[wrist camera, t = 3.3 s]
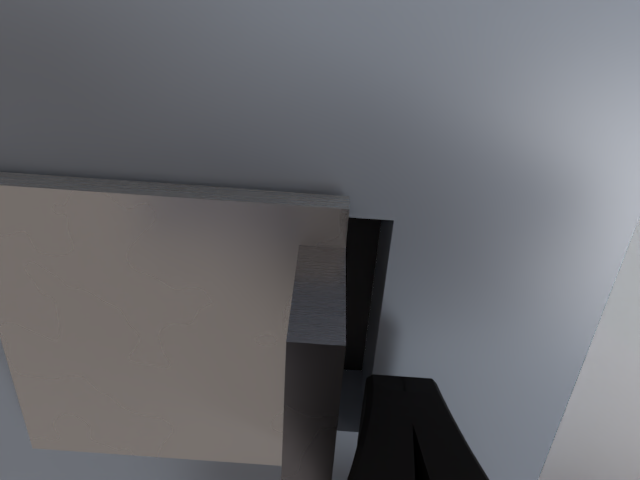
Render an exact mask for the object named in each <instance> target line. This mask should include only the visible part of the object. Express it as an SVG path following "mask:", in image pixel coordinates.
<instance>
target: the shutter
mask: <svg viewBox="0 0 640 480" xmlns="http://www.w3.org/2000/svg"><path fill="white" fill-rule="evenodd" d="M348 219H349V196H345V195H330V194H316V193H301V192H287V191H272V190H258V189H243V188H228V187H214V186H199V185H185V184H170V183H156V182H141V181H127V180H112V179H98V178H83V177H69V176H54V175H39V174H25V173H10V172H0V339H1V342H2V345H3V349H4V352H5V356H6V359H7V363H8V366H9V369H10V373H11V376H12V380H13V383H14V387H15V390H16V393H17V397H18V400H19V404H20V407H21V411H22V414H23V417H24V421H25V424H26V428H27V431H28V435H29V438H30V441H31V445H32V448H33V449H48V450H62V451H76V452H90V453H105V454H119V455H133V456H148V457H162V458H176V459H190V460H205V461H219V462H233V463H248V464H262V465H276V466H282V469H281V480H332V473H333V463H334V454H335V444H336V435H337V425H338V416H339V406H340V397H341V388H342V378H343V369H344V359H345V350H346V240H347V230H348Z"/></svg>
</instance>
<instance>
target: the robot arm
mask: <svg viewBox="0 0 640 480" xmlns="http://www.w3.org/2000/svg"><path fill="white" fill-rule="evenodd" d="M347 480H489V478H488V477H487V475H486V473H485V472H484V470H483V468H482V467H481V465H480V464H479V462H478V460H477V459H476V457H475V455H474V454H473V452H472V450H471V449H470V447H469V445H468V443H467V442H466V440H465V438H464V436H463V434H462V433H461V431H460V429H459V427H458V425H457V423H456V422H455V420H454V418H453V416H452V414H451V412H450V410H449V408H448V406H447V404H446V402H445V400H444V398H443V396H442V394H441V392H440V390H439V388H438V385H437V383H436V382H435V381H434V380H433V379H432V378H419V377H405V376H390V375H376V374H372V375H371V376H369V377H367V378H366V382H365V389H364V397H363V404H362V411H361V418H360V426H359V433H358V440H357V448H356V452H355V455H354V459H353V463H352V466H351V469H350V472H349V475H348V478H347Z"/></svg>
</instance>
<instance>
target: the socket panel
mask: <svg viewBox="0 0 640 480" xmlns="http://www.w3.org/2000/svg"><path fill="white" fill-rule="evenodd" d="M0 172H10V173H25V174H39V175H54V176H69V177H83V178H98V179H112V180H127V181H141V182H156V183H170V184H185V185H199V186H214V187H228V188H243V189H258V190H272V191H287V192H301V193H316V194H330V195H345V196H349V217H351V218H365V219H380V220H381V225H380V233H379V241H378V248H377V256H376V264H375V272H374V280H373V288H372V295H371V303H370V311H369V319H368V327H367V335H366V342H365V350H364V358H363V366H362V371H360V370H346V369H343V378H342V388H341V397H340V406H339V416H338V425H337V435H336V444H335V454H334V463H333V473H332V480H347V478H348V475H349V472H350V469H351V466H352V463H353V459H354V455H355V452H356V448H357V440H358V433H359V426H360V418H361V411H362V404H363V397H364V389H365V382H366V378H367V377H369V376H371V375H372V374H376V375H390V376H405V377H419V378H432V379H433V380H434V381H435V382H436V383H437V385H438V388H439V390H440V392H441V394H442V396H443V398H444V400H445V402H446V404H447V406H448V408H449V410H450V412H451V414H452V416H453V418H454V420H455V422H456V423H457V425H458V427H459V429H460V431H461V433H462V434H463V436H464V438H465V440H466V442H467V443H468V445H469V447H470V449H471V450H472V452H473V454H474V455H475V457H476V459H477V460H478V462H479V464H480V465H481V467H482V468H483V470H484V472H485V473H486V475H487V477H488V478H489V480H538V479H539V476H540V473H541V471H542V468H543V466H544V463H545V461H546V458H547V455H548V453H549V450H550V448H551V445H552V442H553V440H554V437H555V435H556V432H557V430H558V427H559V424H560V422H561V419H562V417H563V414H564V412H565V409H566V406H567V404H568V401H569V399H570V396H571V394H572V391H573V388H574V386H575V383H576V381H577V378H578V376H579V373H580V370H581V368H582V365H583V363H584V360H585V357H586V355H587V352H588V350H589V347H590V345H591V342H592V339H593V337H594V334H595V332H596V329H597V327H598V324H599V321H600V319H601V316H602V314H603V311H604V309H605V306H606V303H607V301H608V298H609V296H610V293H611V291H612V288H613V285H614V283H615V280H616V278H617V275H618V272H619V270H620V267H621V265H622V262H623V260H624V257H625V254H626V252H627V249H628V247H629V244H630V242H631V239H632V236H633V234H634V231H635V229H636V226H637V224H638V221H639V218H640V0H0ZM281 469H282V466H276V465H262V464H248V463H233V462H219V461H205V460H190V459H176V458H162V457H148V456H133V455H119V454H105V453H90V452H76V451H62V450H48V449H33V448H32V445H31V441H30V438H29V435H28V431H27V428H26V424H25V421H24V417H23V414H22V411H21V407H20V404H19V400H18V397H17V393H16V390H15V387H14V383H13V380H12V376H11V373H10V369H9V366H8V363H7V359H6V356H5V352H4V349H3V345H2V342H1V339H0V480H281Z"/></svg>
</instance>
